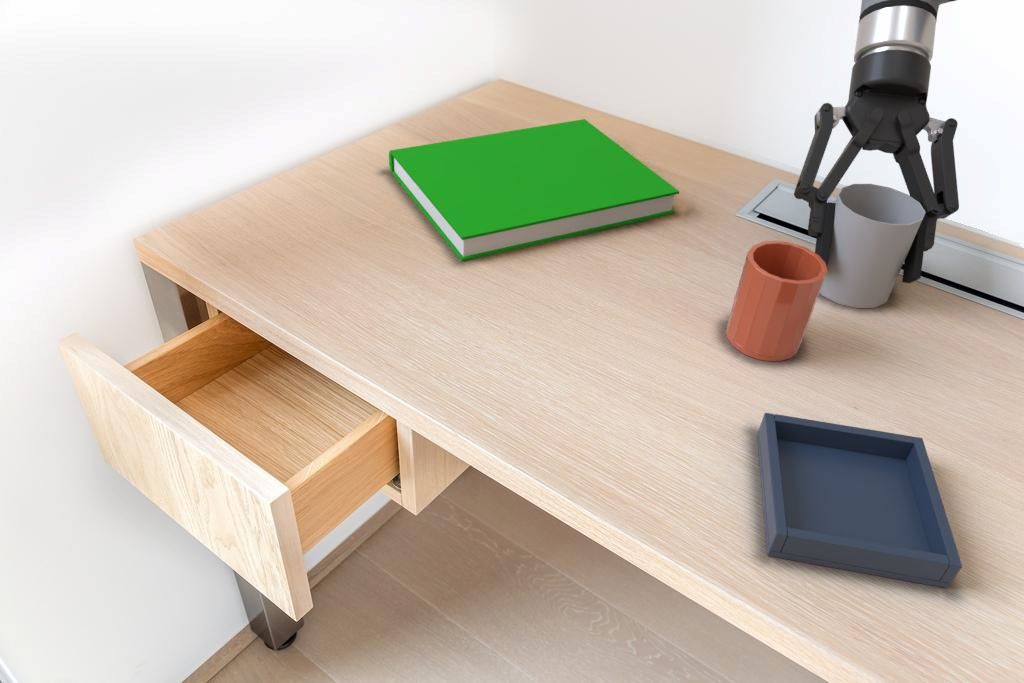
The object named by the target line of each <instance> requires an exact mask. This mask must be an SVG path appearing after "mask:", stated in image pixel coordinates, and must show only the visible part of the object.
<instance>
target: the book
mask: <svg viewBox="0 0 1024 683" xmlns="http://www.w3.org/2000/svg"><path fill="white" fill-rule="evenodd" d="M388 167H389V170H390V173H391V174H392V176H393V177H394V178H395V179H396V181H397V182H398V184H400V186H401V187H402V189H403V190H404V191H405V192H406V193H407V194H408V196H409V197H410V198H411V200H412V201H413V202H414V204H416V206H417V207H418V208H419V210H420V211H421V212H422V214H423V215H424V216H425V218H426V219H427V220H428V221H429V222H430V223H431V225H432V226H433V227H434V228H435V230H436V231H437V233H439V235H440V236H441V237H442V239H443V240H444V241H445V242H446V244H447V245H448V246H449V247H450V249H451V250H452V251H453V252H454V254H455V255H456V256H457V257H458V259H459V260H460V262H465V261H471V260H474V259H479V258H483V257H484V258H485V257H489V256H492V255H497V254H501V253H505V252H509V251H510V252H511V251H515V250H519V249H524V248H527V247H528V248H529V247H532V246H537V245H540V244H546V243H550V242H555V241H558V240H563V239H568V238H572V237H577V236H581V235H585V234H586V235H587V234H590V233H595V232H599V231H603V230H608V229H613V228H617V227H622V226H624V225H629V224H634V223H639V222H644V221H647V220H652V219H658V218H661V217H666V216H671V215H675V213H676V210H675V209H673V203H674V199H675V196H676V195H679V194H680V190H679V189H677V188H676V187H674V186H673V185H672V184H671V183H669V182H668V181H667V180H665V179H664V178H662V177H661V176H660V175H659V174H658V173H656V172H655V171H654V170H652V169H651V168H650V167H648V166H647V165H646V164H644V163H643V162H642V161H640V160H639V159H638V158H637V157H635V156H634V155H632V154H631V153H630V152H629V151H627V150H626V149H624V148H623V147H622V146H621V145H619V144H618V143H617V142H616V141H614V140H613V139H612V138H610V137H609V136H607V135H606V134H605V133H604V132H603V131H601V130H600V129H599V128H597V127H596V126H594V125H593V124H592V123H590V122H589V121H588V119H587V120H586V118H583V119H576V120H570V121H564V122H558V123H551V124H546V125H539V126H533V127H527V128H526V127H525V128H521V129H514V130H507V131H502V132H501V131H500V132H495V133H490V134H483V135H477V136H471V137H465V138H459V139H452V140H446V141H440V142H434V143H426V144H420V145H415V146H409V147H408V146H407V147H402V148H397V149H390V150H389V152H388Z"/></svg>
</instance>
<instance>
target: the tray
mask: <svg viewBox="0 0 1024 683" xmlns="http://www.w3.org/2000/svg"><path fill="white" fill-rule="evenodd" d="M756 435H757V446H758V447H757V448H758V459H759V460H758V461H759V472H760V473H759V474H760V483H761V484H760V485H761V496H762V508H763V520H764V532H765V544H766V554H767V557H774V558H778V559H784V560H789V561H795V562H800V563H807V564H811V565H817V566H823V567H828V568H834V569H839V570H844V571H845V570H846V571H851V572H856V573H861V574H867V575H873V576H878V577H883V578H889V579H894V580H901V581H906V582H910V583H911V582H912V583H917V584H921V585H928V586H932V587H933V586H934V587H938V588H944V589H948V588H949V586H950V585H951V583H953V581H954V579H955V578H956V576H958V574H959V572H961V569H962V568H963V563H962V560H961V558H960V554H959V551H958V548H957V545H956V541H955V538H954V535H953V531H952V529H951V526H950V522H949V519H948V516H947V512H946V510H945V507H944V503H943V500H942V496H941V494H940V493H941V492H940V491H939V487H938V483H937V480H936V477H935V474H934V471H933V468H932V464H931V461H930V458H929V455H928V452H927V448H926V446H925V442H924V439H923V438H922V437H918V436H912V435H907V434H901V433H900V434H899V433H894V432H887V431H882V430H876V429H869V428H864V427H857V426H852V425H851V426H850V425H845V424H839V423H833V422H827V421H820V420H815V419H808V418H803V417H802V418H801V417H795V416H789V415H784V414H778V413H770V412H764V415H763V417H762V420H761V423H760V425H759V428H758V430H757V433H756Z"/></svg>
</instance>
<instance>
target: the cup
mask: <svg viewBox="0 0 1024 683" xmlns="http://www.w3.org/2000/svg"><path fill="white" fill-rule="evenodd" d="M834 203H836V206H835V213H834V221H833V229H832V236H831V244H830V252H829V260H828V265H827V266H826V267H827V274H826V277H825V280H824V282H823V285H822V288H821V291H820V293H819V295H821V296H822V297H824V298H826V299H828V300H830V301H833V302H834V303H836V304H838V305H843V306H847V307H851V308H856V309H875V308H878V307H880V306H882V305H884V304H887V302H888V300H889V298H890V295H891V293H892V290H893V288H894V286H895V283H896V282H897V279H898V277H899V274H900V272H901V270H902V268H903V266H904V262H905V259H906V256H907V254H908V252H909V249H910V247H911V245H912V243H913V240H914V238H915V236H916V233H917V231H918V229H919V227H920V224H921V222H922V220H923V217H924V215H925V213H926V212H925V210H924V209H923V207H922V205H921V204H920V203H919V202H918V201H916V200H915V199H913V198H912V197H910V194H909V193H906V192H903V191H900V190H897V189H894V188H892V187H890V186H884V185H880V184H874V183H852V184H849V185H846V186H843V187H841V189H840V190H839V192H838V193H837V195H836V198H835V201H834Z"/></svg>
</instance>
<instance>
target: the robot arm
mask: <svg viewBox="0 0 1024 683" xmlns="http://www.w3.org/2000/svg"><path fill="white" fill-rule="evenodd" d="M956 1H957V0H861V5H860V14H859V20H858V27H857V34H856V41H855V48H854V55H853V62H854V65H853V66H852V68H851V76H850V83H849V90H848V99H847V103H846V104H845V106H833V104H832V103H830V102H825V103H822V105H821V106H820V108H819V109H818V110H817V112H816V113H815V114H814V133H813V134H814V135H813V137H812V139H811V143H810V146H809V148H808V152H807V154H806V157H805V160H804V163H803V166H802V169H801V172H800V175H799V177H798V180H797V183H796V185H795V189H794V191H793V196H794V197H795V199H797V200H803V201H804V202H807V203H808V207H809V209H810V211H809V218H808V225H807V226H808V227H807V233H808V236H811V237H816V241H815V248H814V253H816V254H818V255H819V256H820V257H821V258H822V260H823V261H824V262H825V263H826V266H827V265H828V260H829V252H830V244H831V236H832V229H833V221H834V213H835V206H836V203H835V202H830V201H828V199H830V197H831V195H832V194H833V192H834V191H835V189H836V188H837V187H838V185H839V184H840V182H841V180H842V179H843V177H844V176H845V174H846V173H847V171H848V170H849V168H850V166H852V164H853V162H854V161H855V159H856V157H857V156H858V154H860V152H861V150H862V151H867V152H868V151H869V152H870V151H880V152H882V153H885V154H892V155H893V158H894V161H895V162H896V163H897V164H898V166H899V168H900V171H901V174H902V177H903V180H904V183H905V185H906V189H907V191H908V195H909V196H910V197H912V198H913V199H915V200H916V201H918V202H919V203H920V204H921V205H922V207H923V209H924V210H925V212H926V213H925V215H924V217H923V220H922V222H921V224H920V227H919V229H918V231H917V233H916V236H915V238H914V240H913V243H912V245H911V247H910V249H909V252H908V254H907V256H906V259H905V261H904V263H903V271H902V279H901V283H903V284H911V283H913V282H916V281H918V280H920V279H921V278H922V270H923V262H924V253H925V252H928V251H929V250H931V249H932V248H933V247H934V245H935V240H936V239H935V238H936V230H937V222H938V220H940V219H942V220H944V219H946V218H949V217H950V216H951V215H953V214H954V213H956V212H958V210H959V209H960V201H959V190H958V178H957V170H956V159H955V157H956V156H955V148H954V147H955V146H954V140H955V135H956V131H957V129H958V124H959V123H958V121H957V119H955V118H953V117H951V118H947V119H946V120H945V121H944V120H941V119H937V118H934V117H930V113H929V111H928V108H927V101H928V95H929V88H930V80H931V79H930V78H931V71H932V65H931V61H932V59H933V57H934V56H933V55H934V46H935V37H936V28H937V19H938V13H939V8H940V6H941V5H944V4H947V3H950V2H951V3H952V2H956ZM840 120H842V122H843V123H844V125H845V127H846V128H847V130H848V132H849V134H850V136H851V138H850V139H849V141H848V142H847V144H846V145H845V147H844V149H843V150H842V152H841V154H839V157H838V158H837V160H836V161H835V163H834V164H833V165H832V167H831V168H830V170H829V172H828V173H827V175H826V176H825V178H824V179H823V181H822V182H821V184H820V185H819V187H816V186H814V184H815V181H816V178H817V175H818V173H819V170H820V166H821V164H822V161H823V159H824V155H825V152H826V149H827V146H828V144H829V141H830V138H831V135H832V132H833V130H834V129H835V128H836V127H837V126H838V124H840ZM923 130H924V131H925V132H926V134H927V141H928V142H929V143H931V145H930V160H931V172H932V182H933V186H932V183H931V181H930V180H931V179H930V176H929V174H928V172H927V168H926V166H925V163H924V160H923V158H922V155H921V145H920V142H919V139H918V137H917V136H918V135H919V134H920V133H921V132H922V131H923Z"/></svg>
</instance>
